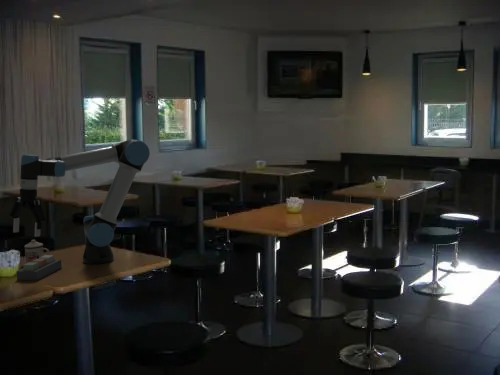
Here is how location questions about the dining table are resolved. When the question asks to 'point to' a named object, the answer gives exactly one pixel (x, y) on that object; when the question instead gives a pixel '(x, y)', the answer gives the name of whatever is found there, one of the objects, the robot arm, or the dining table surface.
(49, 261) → the white button
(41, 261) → the terracotta button
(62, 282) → the dining table surface
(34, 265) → the green button
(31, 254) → the teacup with lid
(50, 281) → the dining table surface
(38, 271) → the button panel
